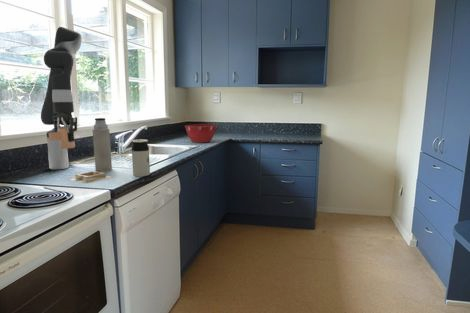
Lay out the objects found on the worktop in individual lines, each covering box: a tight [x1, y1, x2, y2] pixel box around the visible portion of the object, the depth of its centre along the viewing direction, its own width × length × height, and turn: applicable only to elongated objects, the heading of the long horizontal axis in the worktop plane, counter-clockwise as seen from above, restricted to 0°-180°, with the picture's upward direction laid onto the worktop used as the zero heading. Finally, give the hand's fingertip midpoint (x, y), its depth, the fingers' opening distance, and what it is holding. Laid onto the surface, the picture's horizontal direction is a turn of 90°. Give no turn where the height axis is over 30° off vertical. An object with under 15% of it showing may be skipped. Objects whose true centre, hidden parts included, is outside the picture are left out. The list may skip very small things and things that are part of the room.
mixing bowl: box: [184, 123, 217, 144], centre depth 286 cm, size 28×28×16 cm
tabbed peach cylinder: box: [48, 127, 76, 150], centre depth 135 cm, size 10×6×9 cm, turn 150°
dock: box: [68, 170, 113, 184], centre depth 150 cm, size 14×14×3 cm
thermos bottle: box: [92, 117, 113, 172], centre depth 166 cm, size 8×8×28 cm
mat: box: [43, 186, 62, 193], centre depth 139 cm, size 12×12×1 cm
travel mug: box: [131, 138, 151, 177], centre depth 157 cm, size 8×8×18 cm
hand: (66, 141), depth 137 cm, fingers closed on tabbed peach cylinder, 5 cm apart
